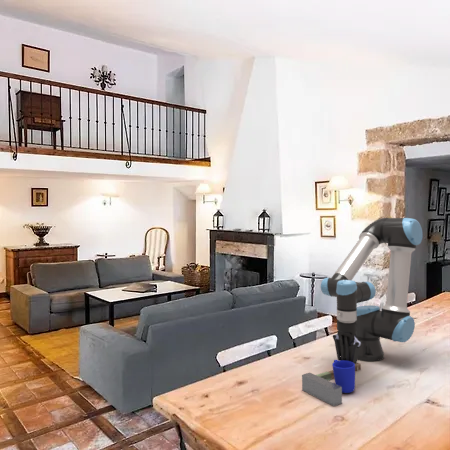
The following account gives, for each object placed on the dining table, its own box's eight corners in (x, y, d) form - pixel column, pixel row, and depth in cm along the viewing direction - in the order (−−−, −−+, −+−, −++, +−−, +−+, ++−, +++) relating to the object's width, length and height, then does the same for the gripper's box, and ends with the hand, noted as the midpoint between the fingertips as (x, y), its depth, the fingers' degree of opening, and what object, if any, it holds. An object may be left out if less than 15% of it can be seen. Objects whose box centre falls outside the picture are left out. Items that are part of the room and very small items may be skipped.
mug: (347, 380, 170) (345, 355, 169) (360, 393, 158) (358, 366, 157) (327, 383, 169) (325, 358, 168) (339, 396, 157) (337, 369, 156)
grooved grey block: (302, 390, 162) (302, 374, 162) (311, 387, 165) (310, 372, 164) (333, 406, 149) (333, 389, 149) (343, 403, 151) (342, 386, 151)
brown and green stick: (305, 384, 167) (305, 377, 167) (356, 368, 183) (356, 362, 183) (309, 386, 165) (309, 379, 165) (361, 369, 182) (361, 363, 181)
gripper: (327, 318, 169) (327, 376, 170) (353, 325, 158) (353, 388, 159) (340, 315, 173) (340, 372, 174) (366, 322, 162) (367, 383, 163)
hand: (347, 380), depth 167 cm, fingers closed
